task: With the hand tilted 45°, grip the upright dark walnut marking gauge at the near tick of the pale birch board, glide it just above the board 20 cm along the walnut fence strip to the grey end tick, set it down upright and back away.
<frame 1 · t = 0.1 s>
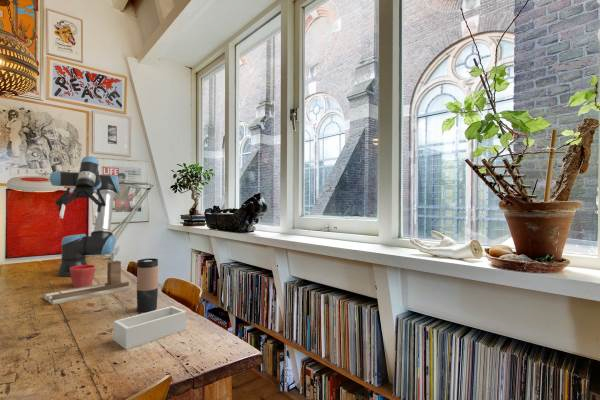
hand: (78, 217, 148), 36 cm above the table, tool tilted 35°, fingers open, 13 cm apart
white rectangular planter box: (151, 334, 103), on the table
travel mug: (147, 310, 127), on the table
flower pot: (82, 286, 162), on the table
birch board: (88, 293, 147), on the table
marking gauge: (113, 286, 153), point 2 cm above the table, touching birch board
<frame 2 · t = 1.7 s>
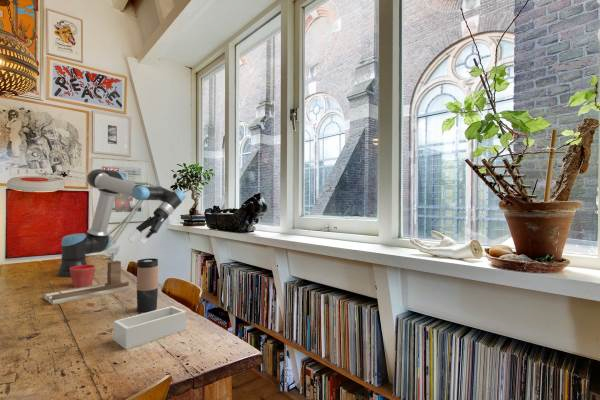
hand: (135, 241, 165), 23 cm above the table, tool tilted 45°, fingers open, 13 cm apart
nothing on the table moved.
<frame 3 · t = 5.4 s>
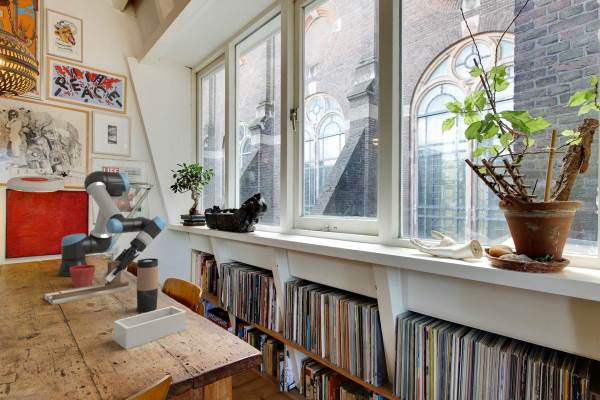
hand: (105, 279, 151), 6 cm above the table, tool tilted 45°, fingers closed on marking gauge, 4 cm apart
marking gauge: (113, 286, 153), point 2 cm above the table, touching birch board, gripper
everything else where it was.
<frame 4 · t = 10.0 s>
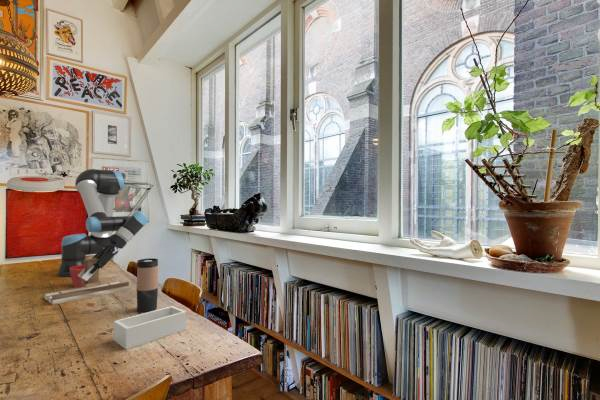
hand: (82, 278, 142), 9 cm above the table, tool tilted 45°, fingers closed on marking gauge, 4 cm apart
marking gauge: (91, 285, 145), point 5 cm above the table, touching gripper
everything else where it was.
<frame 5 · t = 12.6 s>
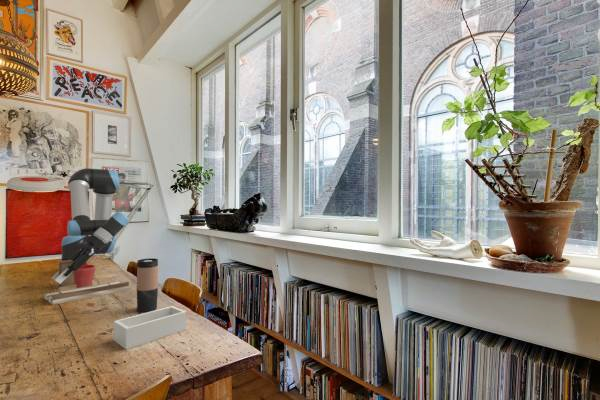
hand: (55, 280, 136), 9 cm above the table, tool tilted 45°, fingers closed on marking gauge, 4 cm apart
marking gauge: (66, 288, 138), point 5 cm above the table, touching gripper
everything else where it was.
when the fingers open (7 cm above the table, at t = 14.9 s): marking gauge stays where it is, resting on birch board.
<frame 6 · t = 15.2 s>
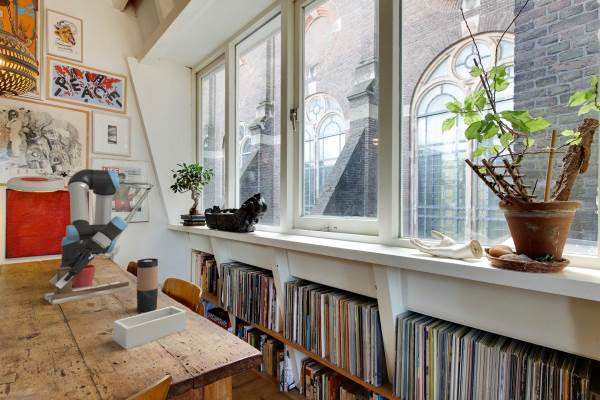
hand: (54, 284, 135), 7 cm above the table, tool tilted 45°, fingers open, 8 cm apart
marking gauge: (64, 295, 138), point 2 cm above the table, touching birch board
everything else where it was.
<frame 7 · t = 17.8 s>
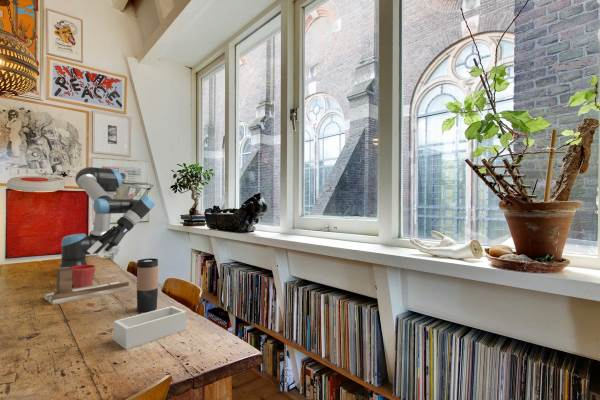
hand: (93, 254, 147), 18 cm above the table, tool tilted 45°, fingers open, 13 cm apart
nothing on the table moved.
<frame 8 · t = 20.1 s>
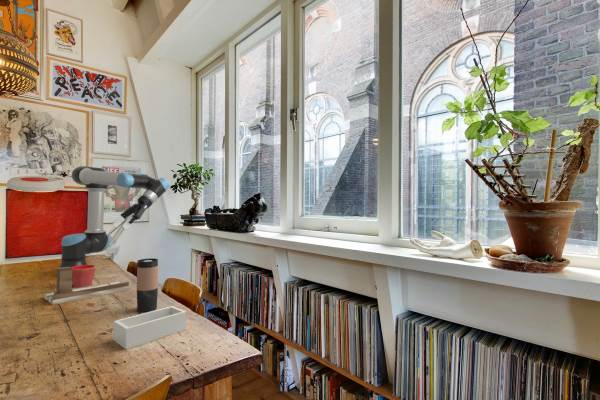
hand: (118, 227, 169), 30 cm above the table, tool tilted 45°, fingers open, 13 cm apart
nothing on the table moved.
at the end: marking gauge inside the target area (0.1 cm from its centre), point 2.0 cm above the table; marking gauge tilted 0°; the gripper is holding nothing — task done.
